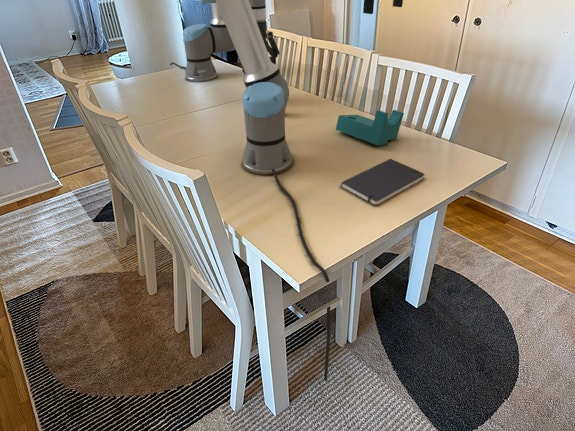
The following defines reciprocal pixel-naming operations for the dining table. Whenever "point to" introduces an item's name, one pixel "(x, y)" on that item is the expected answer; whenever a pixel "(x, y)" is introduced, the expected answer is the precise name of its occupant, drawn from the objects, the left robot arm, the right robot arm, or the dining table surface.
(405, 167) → the notebook
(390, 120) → the teal l-shaped bracket
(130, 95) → the dining table surface
